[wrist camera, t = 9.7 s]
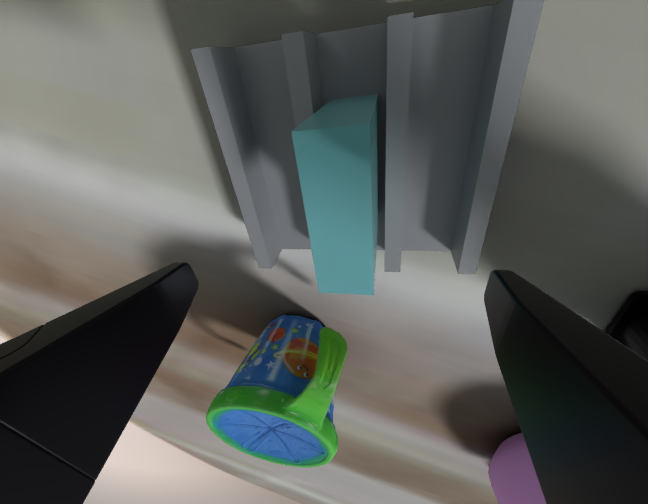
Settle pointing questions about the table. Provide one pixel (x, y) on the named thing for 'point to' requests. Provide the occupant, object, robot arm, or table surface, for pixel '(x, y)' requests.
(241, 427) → the snack cup
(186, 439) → the table surface
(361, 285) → the tall teal box
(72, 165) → the table surface
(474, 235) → the dish rack
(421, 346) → the table surface
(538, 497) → the teapot
